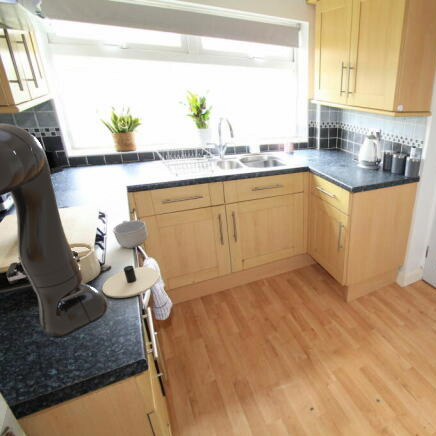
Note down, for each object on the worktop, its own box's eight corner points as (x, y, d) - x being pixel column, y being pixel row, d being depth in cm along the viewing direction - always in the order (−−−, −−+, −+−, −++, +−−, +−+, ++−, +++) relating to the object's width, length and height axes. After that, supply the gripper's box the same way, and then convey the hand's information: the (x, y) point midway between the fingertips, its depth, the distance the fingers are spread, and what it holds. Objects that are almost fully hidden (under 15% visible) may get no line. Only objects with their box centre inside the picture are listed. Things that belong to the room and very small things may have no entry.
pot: (54, 300, 93) (44, 275, 89) (37, 273, 104) (28, 251, 101) (110, 278, 103) (103, 256, 100) (89, 256, 115) (83, 235, 111)
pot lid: (114, 306, 91) (109, 289, 88) (95, 284, 100) (90, 268, 98) (169, 282, 102) (165, 267, 100) (147, 264, 111) (144, 249, 109)
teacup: (150, 247, 122) (146, 228, 119) (117, 253, 117) (112, 234, 114) (147, 232, 133) (143, 215, 130) (117, 238, 128) (112, 220, 124)
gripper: (85, 253, 76) (65, 231, 86) (4, 279, 66) (-8, 250, 76) (94, 279, 79) (74, 255, 89) (18, 307, 69) (4, 277, 79)
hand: (36, 253), depth 82 cm, fingers closed on pepper mill, 4 cm apart
